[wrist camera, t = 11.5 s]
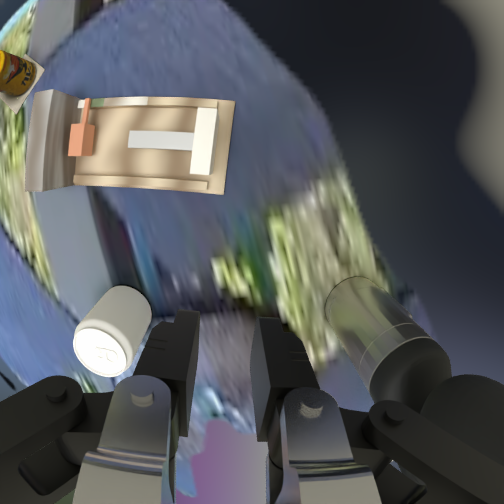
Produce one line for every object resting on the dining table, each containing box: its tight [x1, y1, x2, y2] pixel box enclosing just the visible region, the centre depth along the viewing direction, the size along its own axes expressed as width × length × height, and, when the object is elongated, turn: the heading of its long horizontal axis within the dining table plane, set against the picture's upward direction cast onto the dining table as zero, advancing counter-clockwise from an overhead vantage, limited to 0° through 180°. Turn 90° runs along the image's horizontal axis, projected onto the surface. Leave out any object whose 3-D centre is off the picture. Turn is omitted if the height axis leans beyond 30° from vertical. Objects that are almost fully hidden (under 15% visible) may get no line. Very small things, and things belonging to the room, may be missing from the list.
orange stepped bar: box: [68, 98, 95, 156], centre depth 29 cm, size 2×8×3 cm, turn 173°
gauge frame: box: [25, 89, 235, 195], centre depth 30 cm, size 24×12×9 cm, turn 83°
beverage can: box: [73, 286, 152, 377], centre depth 35 cm, size 8×8×12 cm
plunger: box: [128, 107, 220, 175], centre depth 30 cm, size 10×7×6 cm
